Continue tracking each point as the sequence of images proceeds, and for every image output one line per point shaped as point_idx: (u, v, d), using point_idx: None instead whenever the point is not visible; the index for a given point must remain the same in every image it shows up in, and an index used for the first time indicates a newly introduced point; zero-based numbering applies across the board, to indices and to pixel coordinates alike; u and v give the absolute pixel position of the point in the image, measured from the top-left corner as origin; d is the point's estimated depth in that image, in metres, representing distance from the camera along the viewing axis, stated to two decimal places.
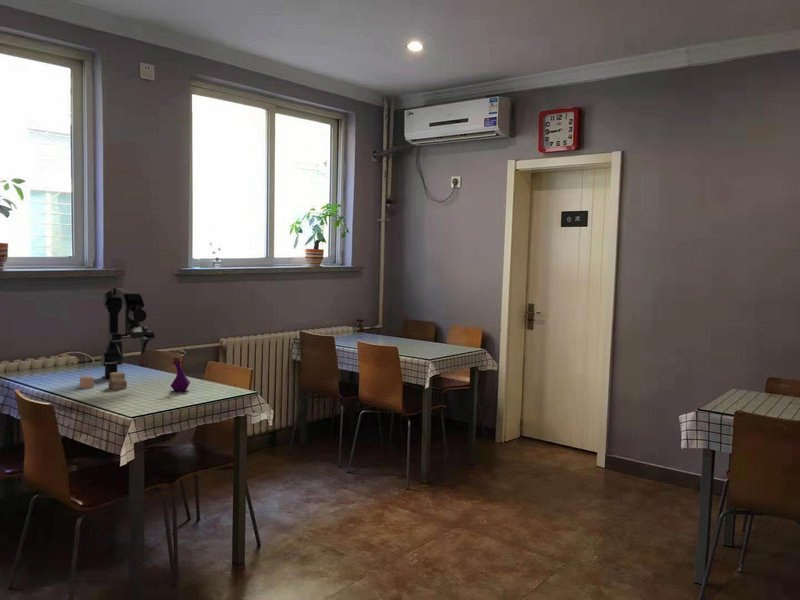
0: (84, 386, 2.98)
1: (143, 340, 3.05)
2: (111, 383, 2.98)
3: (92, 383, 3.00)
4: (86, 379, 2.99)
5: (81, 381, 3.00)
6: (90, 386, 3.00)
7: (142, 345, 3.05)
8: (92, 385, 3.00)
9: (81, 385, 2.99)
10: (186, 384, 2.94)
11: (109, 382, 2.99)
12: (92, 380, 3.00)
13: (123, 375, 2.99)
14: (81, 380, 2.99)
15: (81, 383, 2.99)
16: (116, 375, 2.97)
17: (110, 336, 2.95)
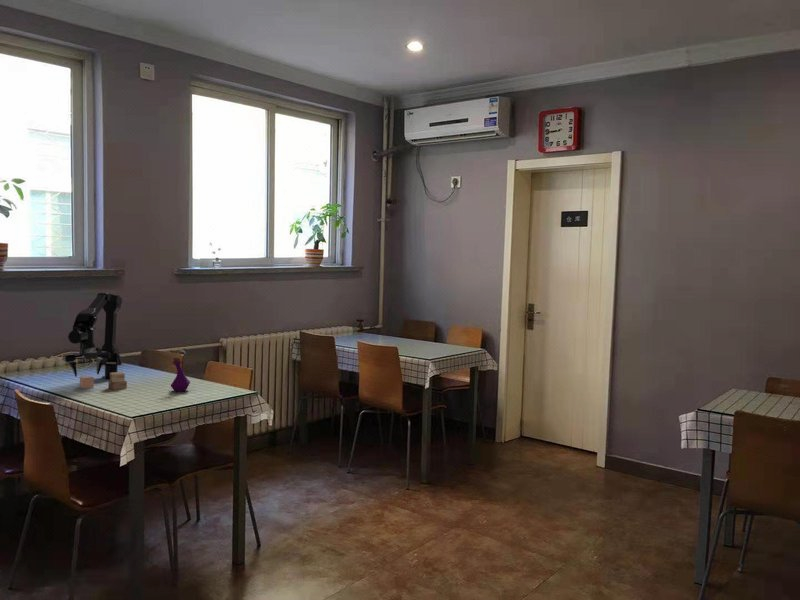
0: (84, 386, 2.98)
1: (98, 360, 3.03)
2: (111, 383, 2.98)
3: (92, 383, 3.00)
4: (86, 379, 2.99)
5: (81, 381, 3.00)
6: (90, 386, 3.00)
7: (97, 365, 3.04)
8: (92, 385, 3.00)
9: (81, 385, 2.99)
10: (186, 384, 2.94)
11: (109, 382, 2.99)
12: (92, 380, 3.00)
13: (123, 375, 2.98)
14: (81, 380, 2.99)
15: (81, 383, 2.99)
16: (116, 375, 2.97)
17: (64, 357, 2.94)
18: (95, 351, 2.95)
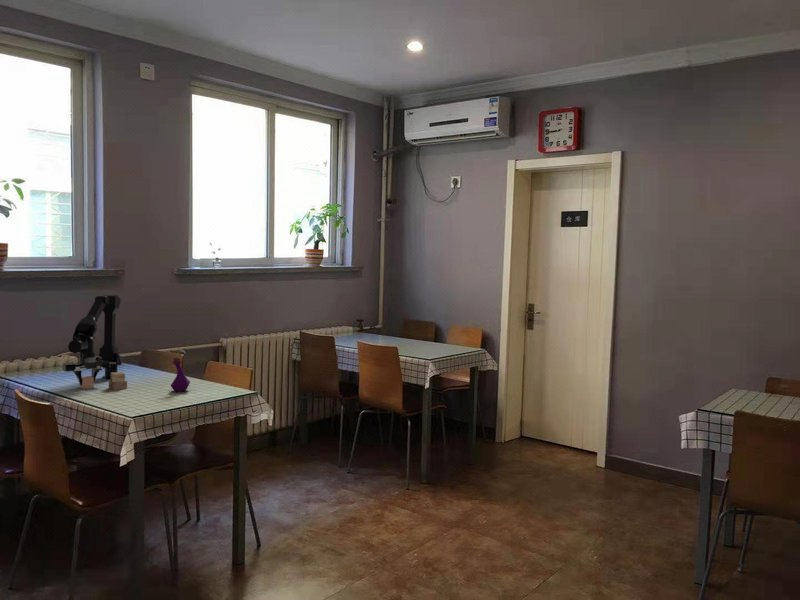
0: (84, 386, 2.98)
1: (93, 370, 3.02)
2: (111, 383, 2.98)
3: (92, 383, 3.00)
4: (86, 379, 2.99)
5: None
6: (90, 386, 3.00)
7: (92, 375, 3.02)
8: (92, 385, 3.00)
9: (81, 385, 2.99)
10: (186, 384, 2.94)
11: (109, 382, 2.99)
12: (92, 380, 3.00)
13: (123, 375, 2.99)
14: None
15: None
16: (116, 375, 2.97)
17: (64, 366, 2.94)
18: (95, 360, 2.96)
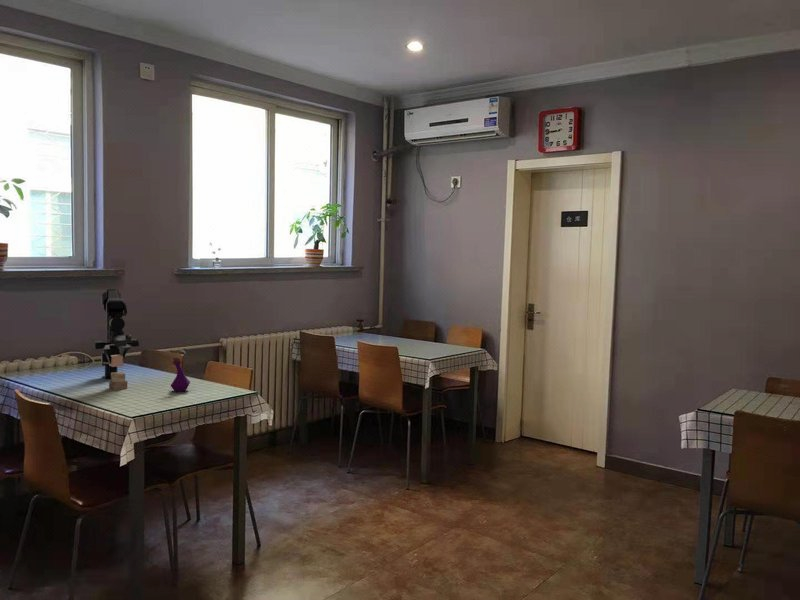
0: (113, 364, 2.96)
1: (122, 349, 3.00)
2: (112, 383, 2.98)
3: (121, 361, 2.98)
4: (115, 357, 2.97)
5: None
6: (119, 364, 2.98)
7: (121, 354, 3.01)
8: (121, 363, 2.99)
9: None
10: (186, 384, 2.94)
11: (110, 382, 2.99)
12: (121, 358, 2.98)
13: (123, 375, 2.98)
14: None
15: None
16: (116, 375, 2.97)
17: (93, 344, 2.92)
18: (124, 338, 2.94)
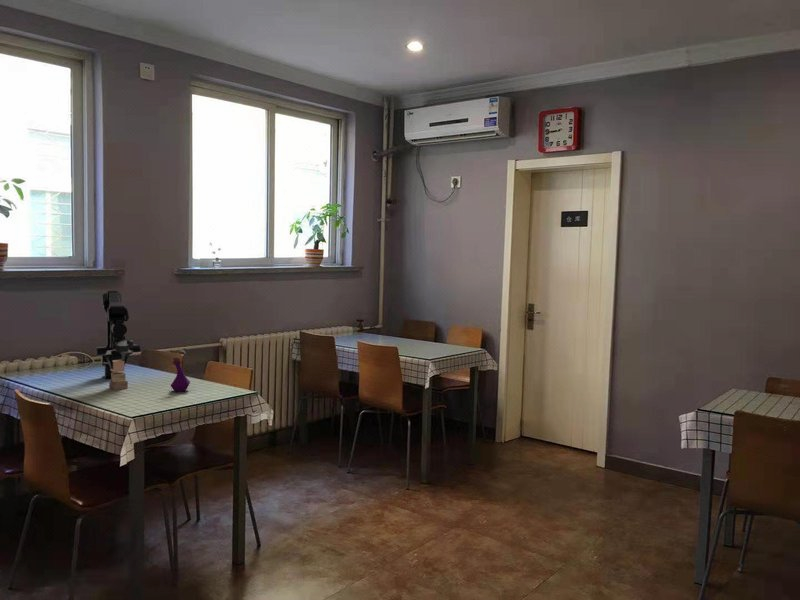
0: (115, 370, 2.97)
1: (124, 354, 3.01)
2: (112, 383, 2.98)
3: (123, 367, 2.99)
4: (117, 363, 2.97)
5: None
6: (121, 370, 2.98)
7: (123, 359, 3.01)
8: (123, 369, 2.99)
9: (112, 369, 2.98)
10: (186, 384, 2.94)
11: (110, 382, 2.99)
12: (122, 364, 2.99)
13: (124, 375, 2.99)
14: None
15: None
16: (116, 375, 2.97)
17: (95, 350, 2.92)
18: (126, 344, 2.94)
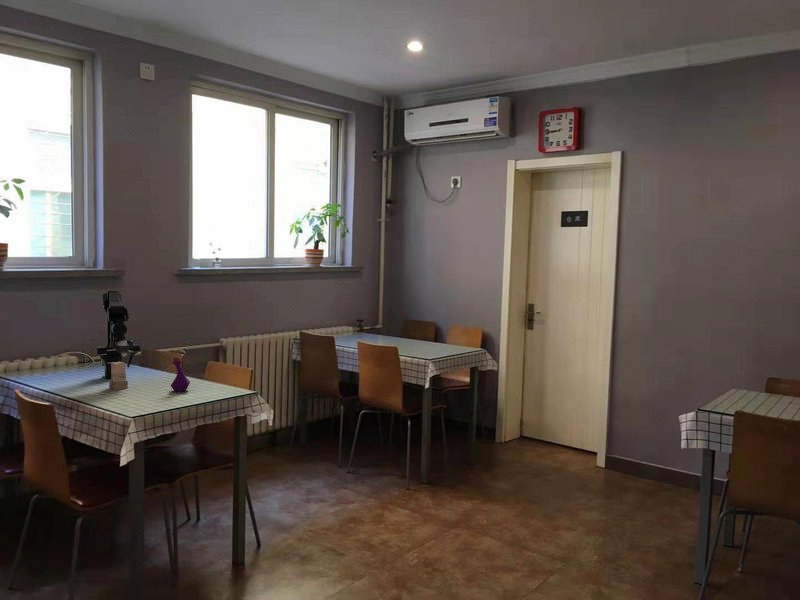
0: (116, 372, 2.97)
1: (129, 353, 3.02)
2: (112, 383, 2.98)
3: (124, 369, 2.99)
4: (118, 365, 2.97)
5: (112, 366, 2.98)
6: (122, 372, 2.99)
7: (128, 358, 3.02)
8: (124, 371, 2.99)
9: (113, 371, 2.98)
10: (186, 384, 2.94)
11: (110, 382, 2.99)
12: (123, 366, 2.99)
13: (124, 375, 2.99)
14: (113, 366, 2.98)
15: (113, 369, 2.98)
16: (117, 375, 2.97)
17: (95, 350, 2.92)
18: (126, 344, 2.94)
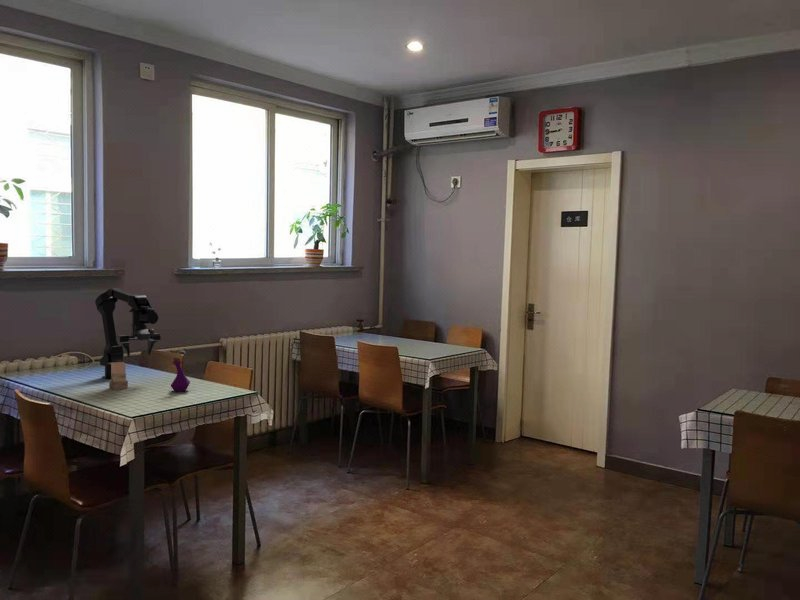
0: (116, 371, 2.97)
1: (150, 342, 3.15)
2: (112, 383, 2.98)
3: (124, 368, 2.99)
4: (118, 364, 2.97)
5: (112, 366, 2.98)
6: (122, 371, 2.99)
7: (149, 347, 3.15)
8: (124, 370, 2.99)
9: (113, 371, 2.98)
10: (186, 384, 2.94)
11: (110, 382, 2.99)
12: (123, 366, 2.99)
13: (124, 375, 2.99)
14: (113, 366, 2.98)
15: (113, 369, 2.98)
16: (117, 375, 2.97)
17: (118, 338, 3.05)
18: (148, 332, 3.07)
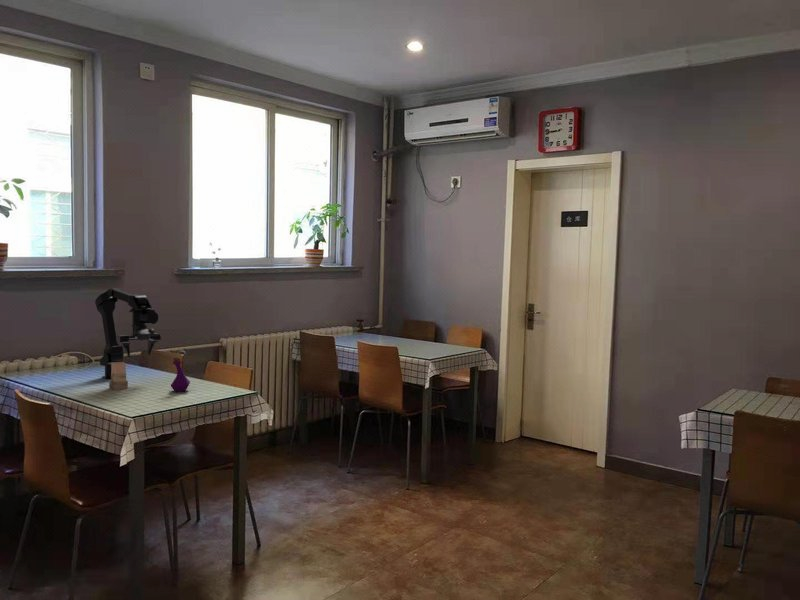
0: (116, 372, 2.97)
1: (150, 342, 3.15)
2: (112, 383, 2.98)
3: (124, 369, 2.99)
4: (118, 365, 2.97)
5: (113, 366, 2.98)
6: (122, 372, 2.99)
7: (149, 346, 3.15)
8: (124, 371, 2.99)
9: (113, 371, 2.98)
10: (186, 384, 2.94)
11: (110, 382, 2.99)
12: (124, 366, 2.99)
13: (124, 375, 2.99)
14: (113, 366, 2.98)
15: (113, 369, 2.98)
16: (117, 375, 2.97)
17: (118, 338, 3.05)
18: (148, 332, 3.07)
